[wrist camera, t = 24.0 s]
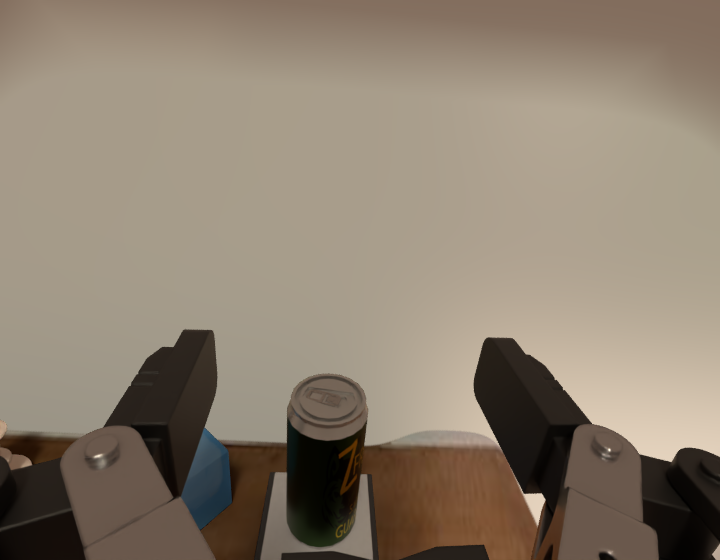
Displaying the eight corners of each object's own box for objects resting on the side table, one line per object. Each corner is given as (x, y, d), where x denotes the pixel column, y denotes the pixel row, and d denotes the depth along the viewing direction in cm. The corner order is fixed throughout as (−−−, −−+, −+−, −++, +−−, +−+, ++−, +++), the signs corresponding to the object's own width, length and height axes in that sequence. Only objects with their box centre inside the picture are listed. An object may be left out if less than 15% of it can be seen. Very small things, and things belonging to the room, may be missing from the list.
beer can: (273, 540, 30) (272, 414, 25) (302, 480, 34) (305, 364, 29) (343, 564, 28) (357, 437, 23) (363, 498, 33) (377, 381, 28)
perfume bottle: (163, 561, 30) (140, 443, 25) (121, 511, 33) (94, 398, 28) (231, 502, 35) (224, 393, 30) (189, 464, 38) (176, 359, 33)
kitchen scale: (249, 609, 28) (248, 585, 27) (270, 489, 36) (270, 467, 35) (378, 608, 29) (382, 585, 27) (369, 490, 37) (372, 469, 36)
